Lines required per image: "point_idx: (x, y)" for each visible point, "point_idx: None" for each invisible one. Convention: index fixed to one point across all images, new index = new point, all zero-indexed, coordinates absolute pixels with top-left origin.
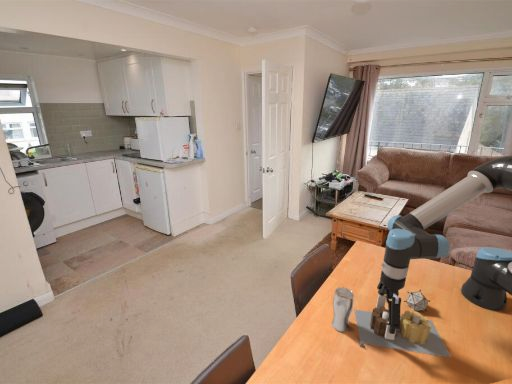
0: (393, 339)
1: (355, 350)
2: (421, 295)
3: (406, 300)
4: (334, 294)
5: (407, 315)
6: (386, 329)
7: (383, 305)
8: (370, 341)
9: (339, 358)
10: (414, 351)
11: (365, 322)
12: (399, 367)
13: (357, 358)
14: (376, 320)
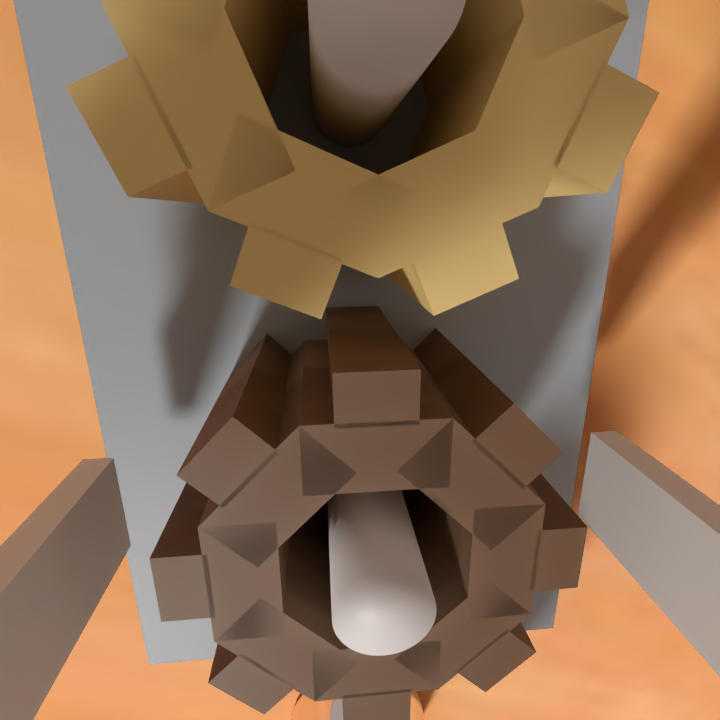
0: (620, 438)
1: (573, 627)
2: None
3: None
4: None
5: (266, 178)
6: (673, 609)
7: (70, 534)
8: None
9: (637, 706)
10: (617, 184)
11: None
12: (710, 356)
13: (636, 618)
14: (486, 680)
